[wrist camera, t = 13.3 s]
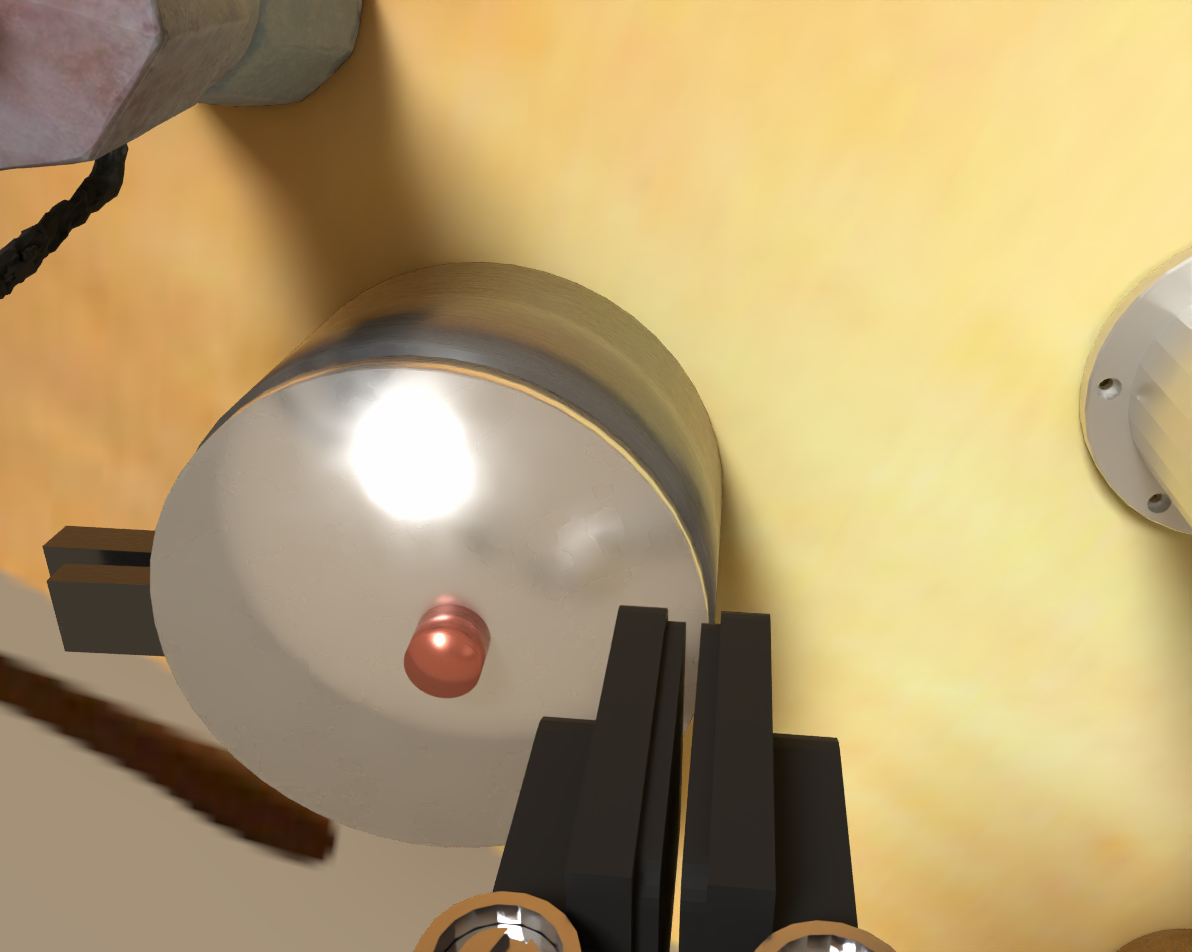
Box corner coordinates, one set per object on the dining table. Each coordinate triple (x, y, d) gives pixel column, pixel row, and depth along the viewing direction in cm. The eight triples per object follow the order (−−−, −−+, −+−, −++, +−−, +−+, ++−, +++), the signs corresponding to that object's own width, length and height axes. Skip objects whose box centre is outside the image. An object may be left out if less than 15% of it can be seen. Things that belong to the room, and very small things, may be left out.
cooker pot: (732, 268, 44) (726, 355, 35) (714, 685, 53) (705, 840, 44) (129, 253, 47) (-18, 330, 38) (207, 651, 56) (102, 789, 47)
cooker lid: (719, 362, 35) (719, 399, 32) (700, 838, 43) (699, 900, 41) (10, 345, 37) (-47, 379, 34) (125, 803, 46) (87, 859, 43)
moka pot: (410, -214, 38) (105, -338, 20) (354, 224, 45) (90, 420, 27) (139, -284, 38) (-402, -467, 20) (125, 164, 45) (-286, 320, 27)
